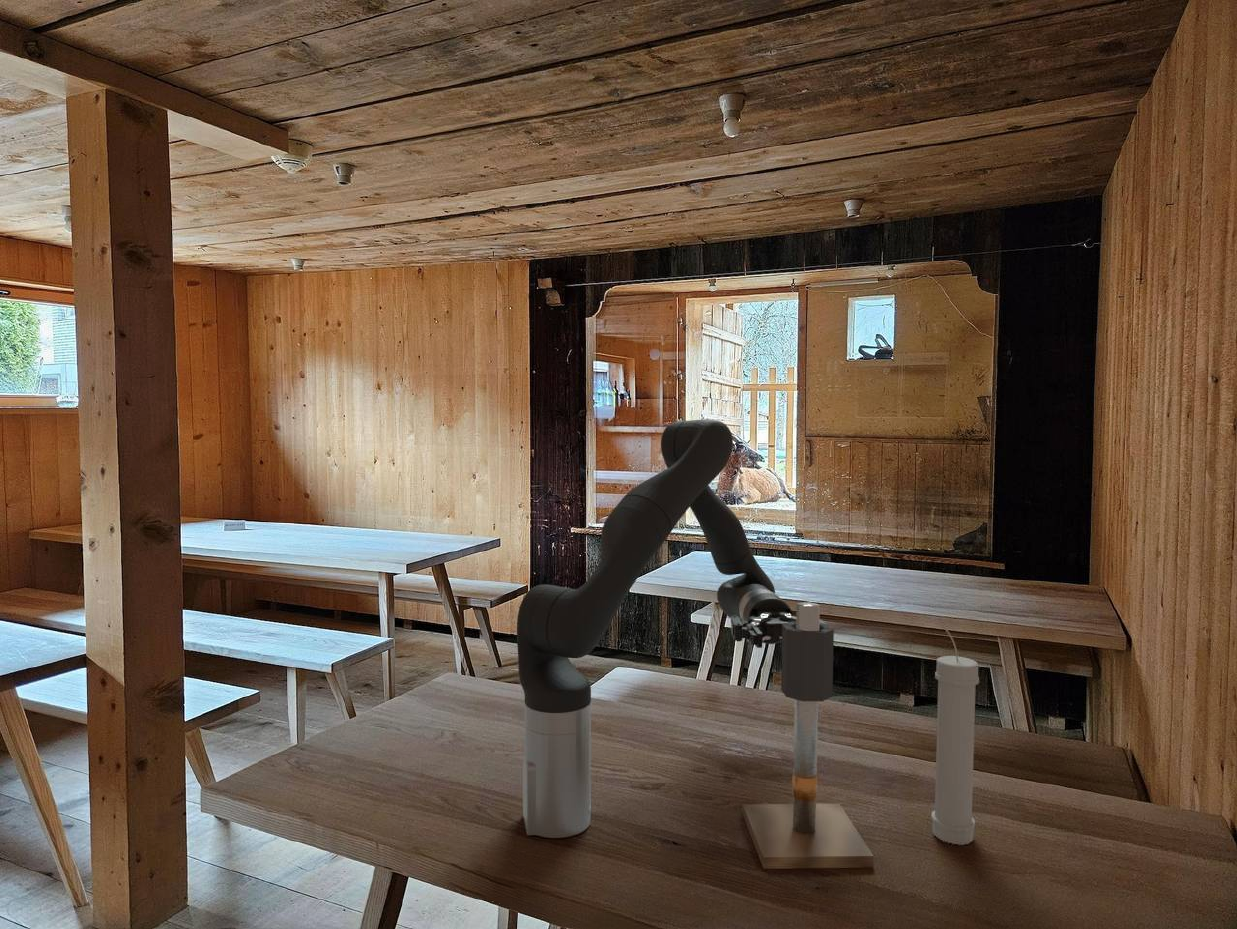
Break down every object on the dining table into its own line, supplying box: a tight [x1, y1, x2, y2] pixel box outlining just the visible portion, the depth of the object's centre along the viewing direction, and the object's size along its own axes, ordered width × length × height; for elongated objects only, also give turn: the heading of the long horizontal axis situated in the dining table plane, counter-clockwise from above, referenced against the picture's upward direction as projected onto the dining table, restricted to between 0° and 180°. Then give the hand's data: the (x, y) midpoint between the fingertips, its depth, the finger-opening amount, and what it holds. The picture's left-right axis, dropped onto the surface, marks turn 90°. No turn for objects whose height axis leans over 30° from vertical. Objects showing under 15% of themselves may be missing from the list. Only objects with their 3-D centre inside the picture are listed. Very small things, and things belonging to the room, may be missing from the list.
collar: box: [780, 621, 835, 702], centre depth 107 cm, size 6×6×9 cm
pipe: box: [930, 617, 980, 846], centre depth 108 cm, size 6×6×30 cm
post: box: [742, 602, 874, 870], centre depth 107 cm, size 14×14×32 cm
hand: (789, 641), depth 116 cm, fingers open, 8 cm apart
